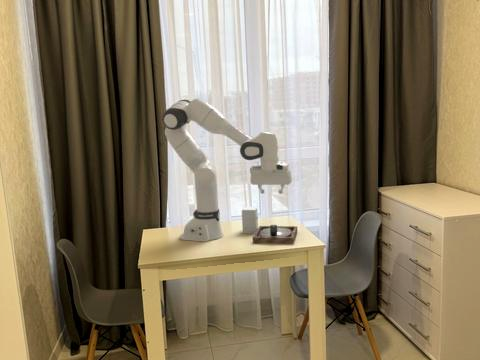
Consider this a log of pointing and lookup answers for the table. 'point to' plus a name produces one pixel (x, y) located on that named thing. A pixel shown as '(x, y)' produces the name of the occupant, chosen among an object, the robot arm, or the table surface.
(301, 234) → the table surface
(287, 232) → the dial
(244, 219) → the supplement box
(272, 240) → the dial housing
